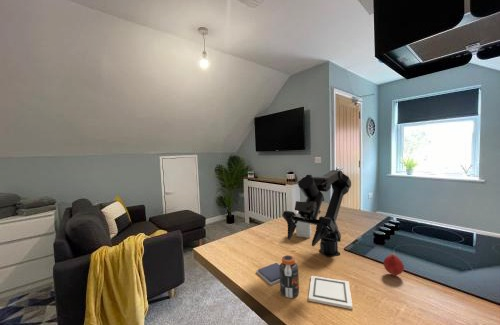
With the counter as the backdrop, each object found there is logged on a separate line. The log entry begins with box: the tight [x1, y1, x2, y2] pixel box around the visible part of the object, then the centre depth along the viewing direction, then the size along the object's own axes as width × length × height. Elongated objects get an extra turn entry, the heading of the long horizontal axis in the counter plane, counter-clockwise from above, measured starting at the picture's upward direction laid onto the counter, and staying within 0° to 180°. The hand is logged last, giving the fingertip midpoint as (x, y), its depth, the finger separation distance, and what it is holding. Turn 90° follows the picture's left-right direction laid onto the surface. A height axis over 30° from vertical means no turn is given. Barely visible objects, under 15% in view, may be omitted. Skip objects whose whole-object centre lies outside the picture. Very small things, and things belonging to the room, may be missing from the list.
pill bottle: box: [279, 255, 300, 299], centre depth 67 cm, size 6×6×11 cm
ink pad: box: [256, 262, 280, 286], centre depth 77 cm, size 10×10×1 cm
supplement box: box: [295, 210, 312, 239], centre depth 112 cm, size 7×7×13 cm
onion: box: [383, 253, 405, 277], centre depth 73 cm, size 6×6×8 cm
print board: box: [307, 275, 354, 310], centre depth 66 cm, size 12×12×1 cm
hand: (300, 242), depth 72 cm, fingers open, 9 cm apart
